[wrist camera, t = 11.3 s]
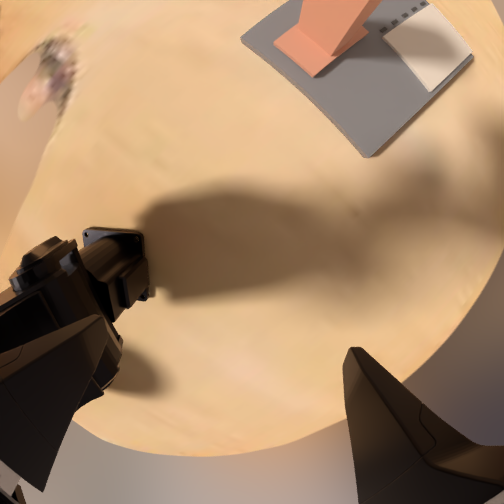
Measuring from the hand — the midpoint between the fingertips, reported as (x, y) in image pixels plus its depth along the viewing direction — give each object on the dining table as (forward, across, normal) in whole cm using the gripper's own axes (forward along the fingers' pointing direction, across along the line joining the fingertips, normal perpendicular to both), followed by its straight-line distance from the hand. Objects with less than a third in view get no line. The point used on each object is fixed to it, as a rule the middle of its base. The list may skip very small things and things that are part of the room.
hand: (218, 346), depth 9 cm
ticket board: (+13, -8, -17) cm, 23 cm away
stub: (+12, -4, -15) cm, 20 cm away
